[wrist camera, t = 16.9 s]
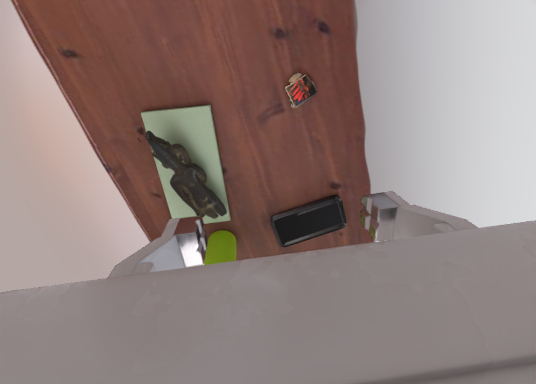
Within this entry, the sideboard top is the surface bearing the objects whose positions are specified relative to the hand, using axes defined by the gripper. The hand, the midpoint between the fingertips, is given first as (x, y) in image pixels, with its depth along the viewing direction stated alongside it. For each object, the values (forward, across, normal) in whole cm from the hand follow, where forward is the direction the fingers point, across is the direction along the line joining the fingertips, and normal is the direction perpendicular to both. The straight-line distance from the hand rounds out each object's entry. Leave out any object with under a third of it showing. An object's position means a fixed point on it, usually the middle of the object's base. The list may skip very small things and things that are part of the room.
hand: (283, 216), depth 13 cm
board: (+34, +12, +9) cm, 37 cm away
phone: (+34, -9, +23) cm, 42 cm away
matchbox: (+34, -8, -3) cm, 35 cm away
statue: (+33, +13, +9) cm, 37 cm away
